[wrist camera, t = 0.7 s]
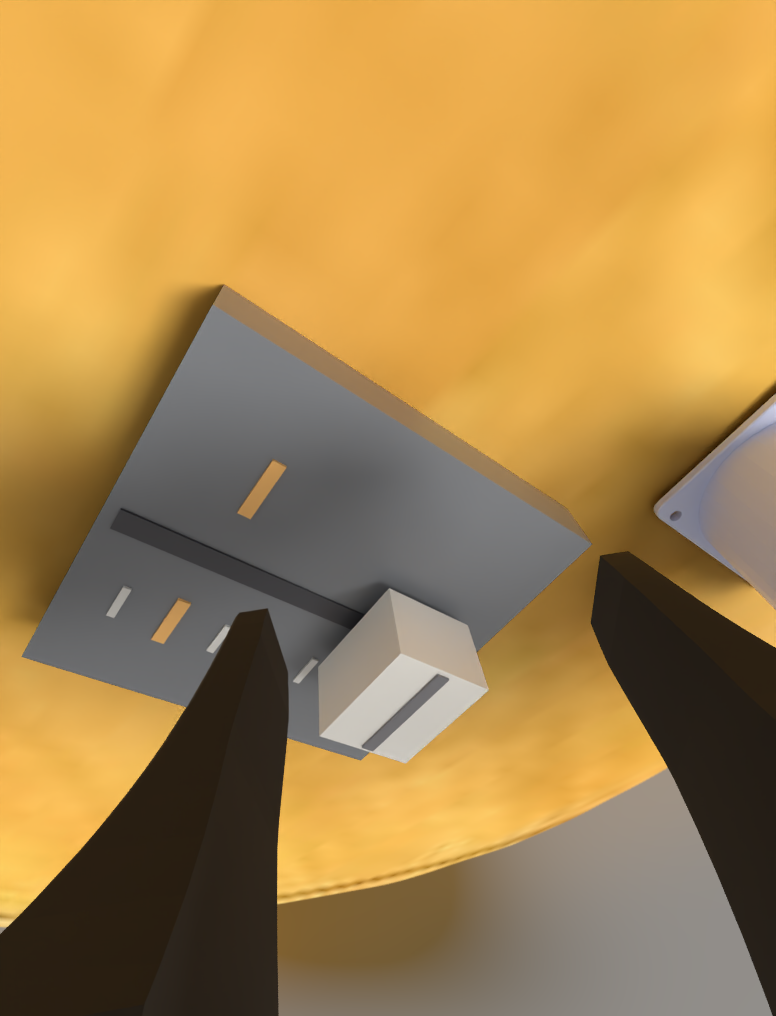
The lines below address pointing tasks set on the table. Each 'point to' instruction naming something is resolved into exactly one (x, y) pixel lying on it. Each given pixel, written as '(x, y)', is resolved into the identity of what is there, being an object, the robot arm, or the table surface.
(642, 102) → the table surface
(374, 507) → the slide fader panel
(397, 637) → the fader knob
